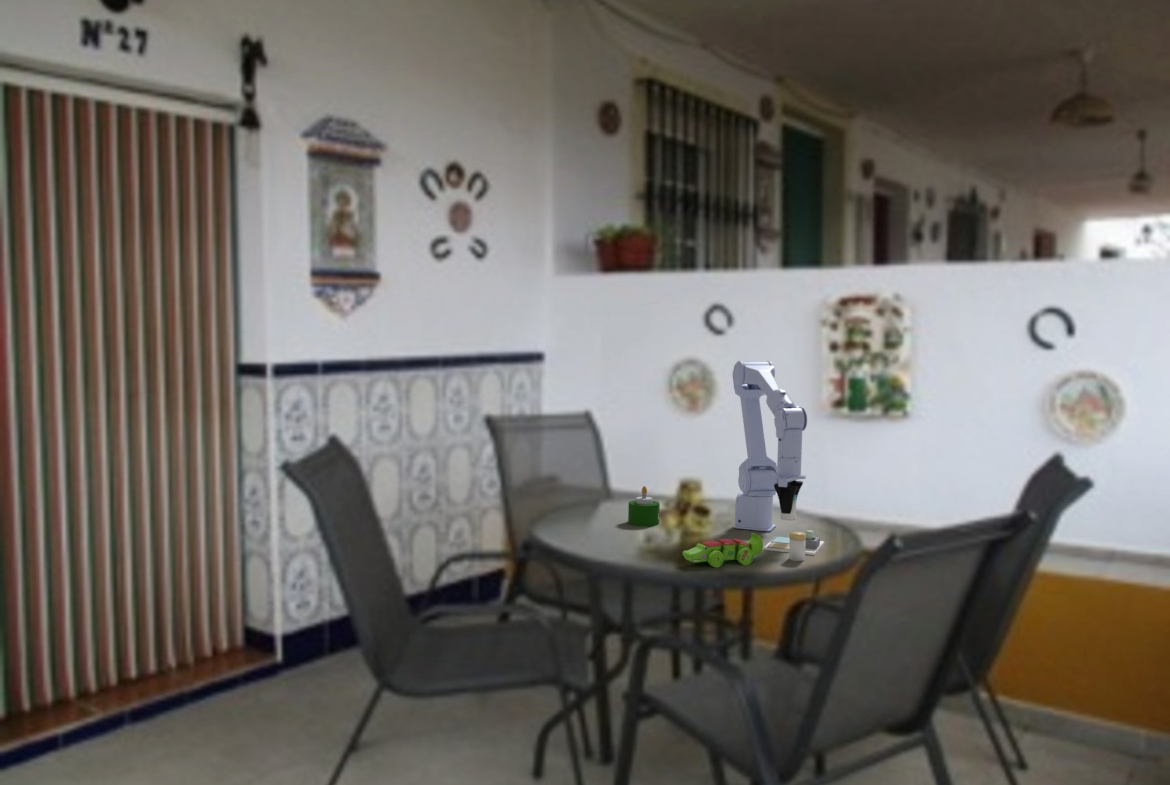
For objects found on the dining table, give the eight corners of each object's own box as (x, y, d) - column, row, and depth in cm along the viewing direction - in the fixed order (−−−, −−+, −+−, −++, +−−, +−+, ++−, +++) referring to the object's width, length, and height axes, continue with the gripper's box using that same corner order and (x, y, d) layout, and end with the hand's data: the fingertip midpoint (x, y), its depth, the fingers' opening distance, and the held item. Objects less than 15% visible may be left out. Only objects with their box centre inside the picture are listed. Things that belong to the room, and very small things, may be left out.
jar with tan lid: (787, 560, 228) (788, 534, 227) (790, 556, 231) (791, 531, 231) (803, 561, 226) (804, 535, 226) (806, 558, 230) (807, 532, 229)
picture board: (763, 549, 237) (764, 539, 237) (775, 538, 249) (776, 528, 249) (814, 555, 233) (814, 544, 232) (824, 543, 245) (824, 533, 244)
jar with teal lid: (779, 519, 243) (779, 495, 243) (782, 516, 247) (782, 492, 246) (794, 520, 242) (795, 496, 241) (797, 518, 245) (797, 493, 245)
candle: (657, 520, 270) (658, 483, 269) (660, 526, 262) (661, 489, 261) (627, 519, 270) (627, 483, 269) (629, 526, 261) (630, 488, 261)
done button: (803, 540, 238) (804, 531, 238) (805, 538, 240) (805, 529, 240) (812, 541, 237) (812, 532, 237) (813, 539, 239) (814, 530, 239)
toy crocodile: (691, 570, 218) (691, 543, 217) (677, 563, 224) (678, 536, 224) (769, 563, 225) (770, 537, 224) (754, 556, 231) (755, 530, 231)
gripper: (800, 461, 235) (798, 518, 236) (811, 454, 248) (809, 508, 249) (770, 459, 238) (768, 515, 239) (783, 452, 251) (781, 505, 252)
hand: (787, 511), depth 244 cm, fingers closed on jar with teal lid, 4 cm apart
